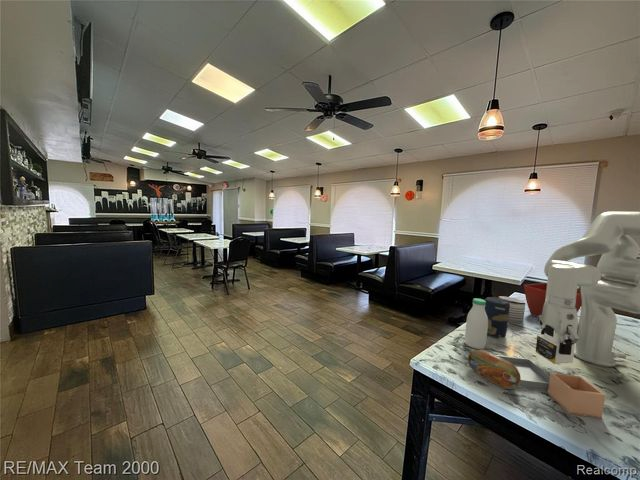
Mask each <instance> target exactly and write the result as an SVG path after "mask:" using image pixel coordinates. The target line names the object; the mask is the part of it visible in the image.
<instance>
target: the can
mask: <svg viewBox="0 0 640 480" xmlns="http://www.w3.org/2000/svg"><path fill="white" fill-rule="evenodd" d="M498 298H500V299H504V300H506V301H508V302H509V303H510V308H509V319H508V324H510V323H511V325H518V324H520V325H523V324H524V317H525V310H526V304H527V301H524V300H522V299H519V298H515V297H509V296H503V295H502V296H501V295H500V296H498Z"/></svg>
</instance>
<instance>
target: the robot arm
mask: <svg viewBox="0 0 640 480" xmlns="http://www.w3.org/2000/svg"><path fill="white" fill-rule="evenodd" d="M631 236H633V237H634V236H636V237H640V211H606V212H602V213H600V214H599V215H597V217H595V219H593V222H592V223H591V224H590V226H589V227H588V229H587V230H586V232H585V233H584V235H583V236H582V237H581V238H580V239H577V240H575V241H572V242H570V243H568V244H565V245H562V246H561V247H559V248H557V249H556V250H555V251H554V252H553V253H552V254H551V255H550V256H549V258H548V260H547V261H546V263H545V265H544V269H543V272H544V274H545V276H546V277H547V280H546V281H547V290H546V299H545V303H544V307H543V311H542V315H539V317H538V320H539V324H540V331H541V332H540V335H541V334H544V333H545V325H546V324H547V325H549V326H551V327H552V328H553V329H554V330H555V333H557V334H558V335H560V338H561V341H562V343H560V347H559V353H560V354H563V355H571V349H572V345H574V344H575V349H574V357H576V358H577V359H580V360H582V361H585V362H587V363H590V364H593V365H596V366H601V367H606V368H607V367H608V368H609V367H610V368H611V367H612V368H613V367H616V366H617V361H616V360H615V359H616V358H618V359H626V357H627V356H626V354H625V353H624V352H617V351H615V350H614V349H613V347H614V341H615V335H616V329H617V324H618V319H617V316H616V314H615V312H614V311H613V309H615V310H619V311H623V312H628V313H632V314H636V315H640V258H637V257H638V255H639V253H640V246H639V244H638V243H637V242H636V241H635V240H634V239H633V238H632V237H631ZM598 255H599V256H600V255H601V257H599V260H598V263H597V265H596V266H595V265H594V266H593V265H591V264H585V263H579V262H573V261H570V260H575V259H577V258H578V259H579V258H584V257H593V256H598ZM602 278H603V279H602ZM604 279H606V280H604ZM609 280H610V281H609ZM619 282H620V283H619ZM624 283H626V284H624ZM630 284H631V285H630ZM578 287H580V291H581V300H582V305H581V307H580V315H579V320H578V312H577V310H576V308H575V303H576V296H577V291H578ZM578 321H579V322H578ZM564 333H567V334H564ZM564 336H566V337H568V339H567V340H565V337H564Z"/></svg>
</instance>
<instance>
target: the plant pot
mask: <svg viewBox="0 0 640 480" xmlns="http://www.w3.org/2000/svg"><path fill="white" fill-rule="evenodd" d="M523 289H524V298H525V300H526V301H525V302H526V304H527V308H528V311H529V313H530V315H531V314H532V315H531V316H534V315H535V317H537V316H538V318H539V315H542V311H543V307H544V303H545V299H546V290H547V283H546V282H543V283H541V282H540V283H532V284H530V283H529V284H524V285H523ZM581 305H582V300H581V290H577V296H576V303H575V308H576V310H577V313H579V311H580V310H581Z"/></svg>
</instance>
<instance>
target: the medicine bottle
mask: <svg viewBox="0 0 640 480" xmlns="http://www.w3.org/2000/svg"><path fill="white" fill-rule="evenodd" d="M564 334H567V333H564ZM564 337H565V340H567V339H568V337H566V336H564ZM560 343H562V341H561V338H560V335H558V334H557V333H555V330H554V329H553V328H552V327H551V326H549V325H547V324H546V325H545V333H544V334H541V333H540V334H537V336H536V346H535V354H537V355H539V356H540V357H542V358H543V359H545V360H547V361H549V362H551V363H552V364H554V365H556V364H558V365H559V364H570V363H573V362H574V357H575V356H574V349H575V346H576V343H574V345H572V349H571V355H563V354H560V353H559V347H560Z"/></svg>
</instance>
